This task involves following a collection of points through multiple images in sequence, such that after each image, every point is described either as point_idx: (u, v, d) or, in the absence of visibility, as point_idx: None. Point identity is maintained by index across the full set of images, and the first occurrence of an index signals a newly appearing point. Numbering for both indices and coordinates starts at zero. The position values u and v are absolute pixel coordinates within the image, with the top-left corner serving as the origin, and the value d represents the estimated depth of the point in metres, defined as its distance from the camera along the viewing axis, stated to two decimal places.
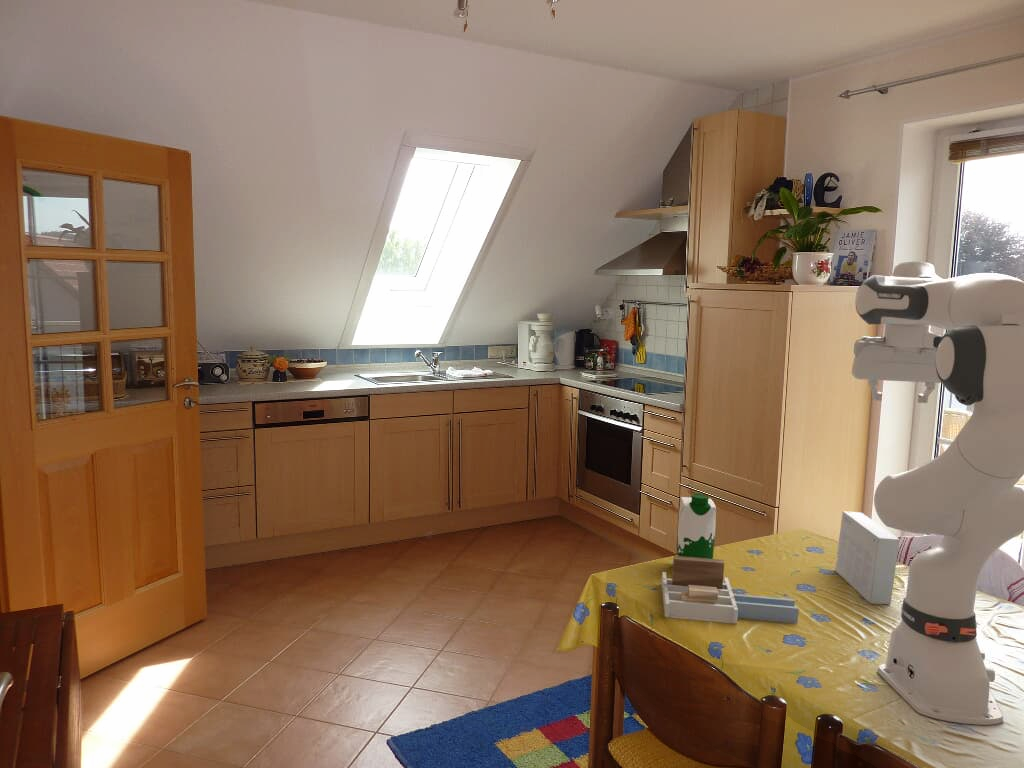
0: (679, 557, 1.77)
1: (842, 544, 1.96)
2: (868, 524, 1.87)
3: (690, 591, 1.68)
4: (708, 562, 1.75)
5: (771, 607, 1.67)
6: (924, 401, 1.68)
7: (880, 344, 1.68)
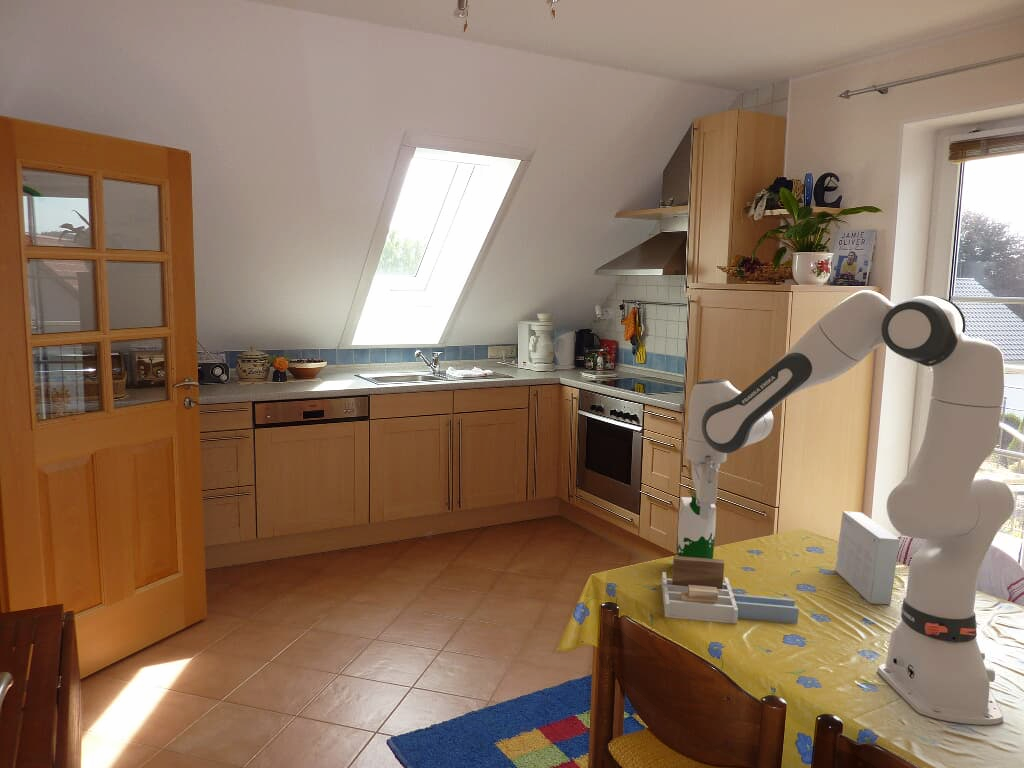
0: (679, 557, 1.77)
1: (842, 544, 1.96)
2: (868, 524, 1.87)
3: (690, 591, 1.68)
4: (708, 562, 1.75)
5: (771, 607, 1.67)
6: None
7: None
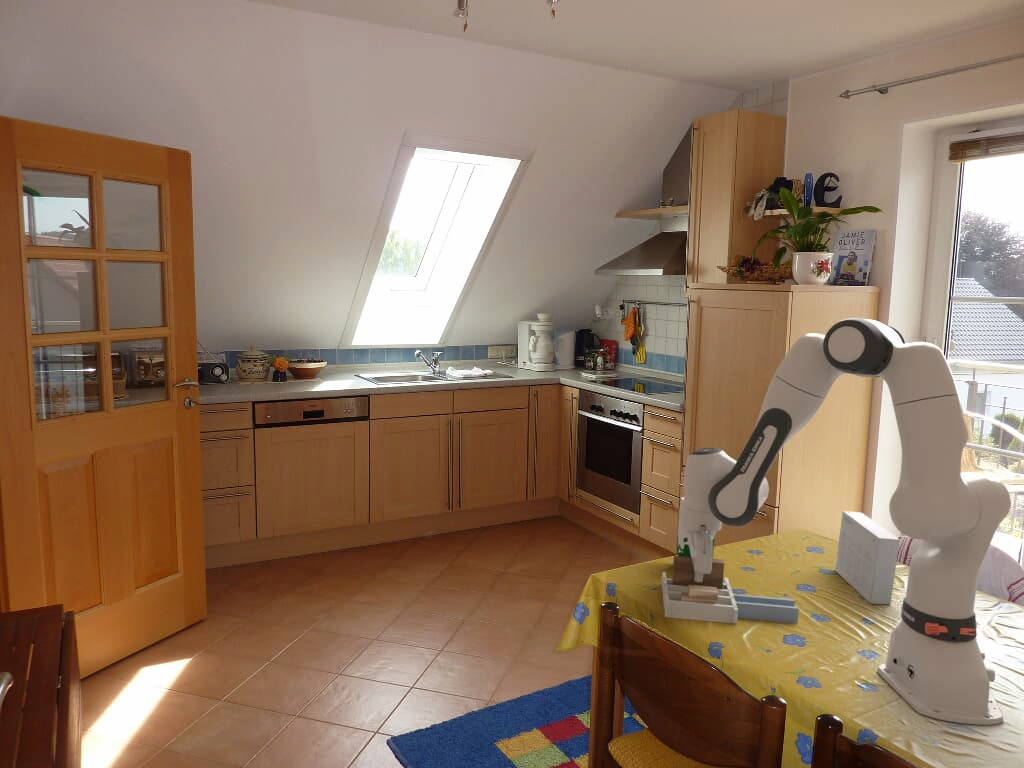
0: (679, 557, 1.77)
1: (842, 544, 1.96)
2: (868, 524, 1.87)
3: (690, 591, 1.68)
4: None
5: (771, 607, 1.67)
6: None
7: None
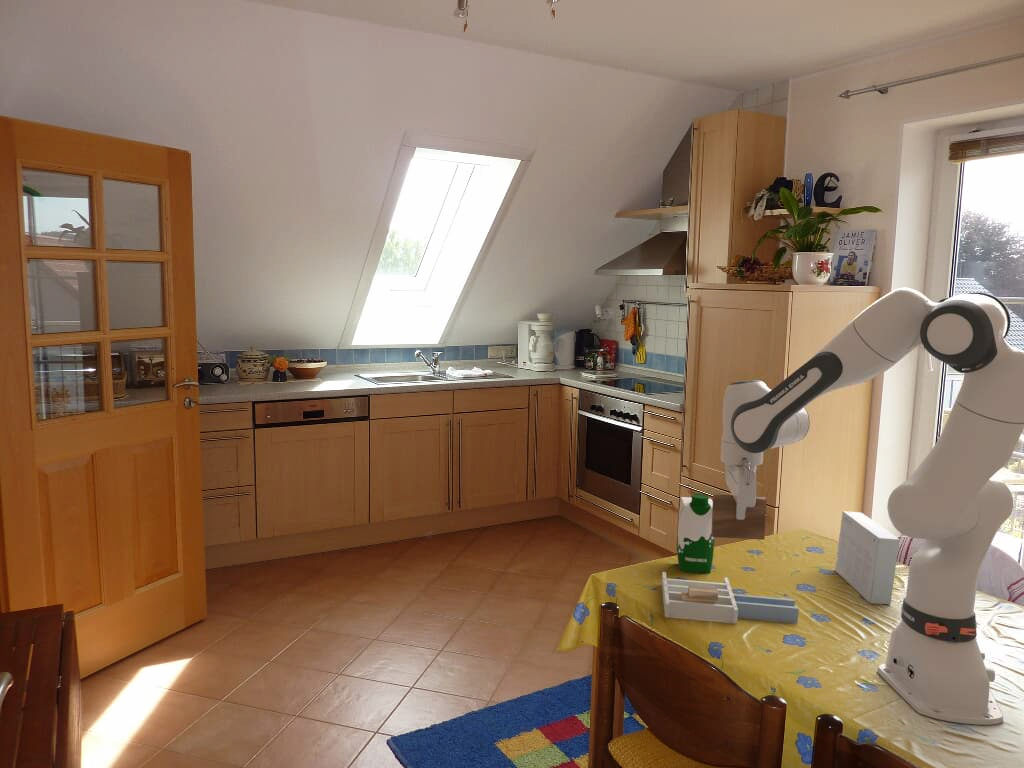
0: (719, 495, 1.71)
1: (842, 544, 1.96)
2: (868, 524, 1.87)
3: (690, 591, 1.68)
4: None
5: (771, 607, 1.67)
6: None
7: None
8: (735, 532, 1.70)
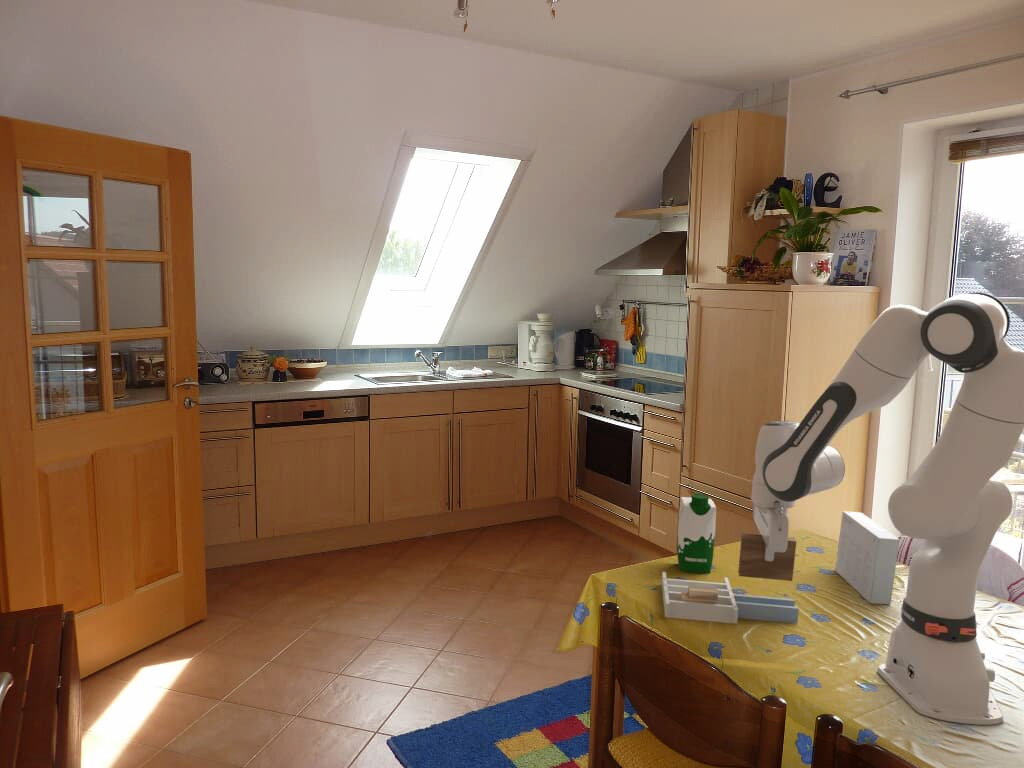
0: (748, 535, 1.68)
1: (842, 544, 1.96)
2: (868, 524, 1.87)
3: (690, 591, 1.68)
4: None
5: (771, 607, 1.67)
6: None
7: None
8: (763, 572, 1.68)
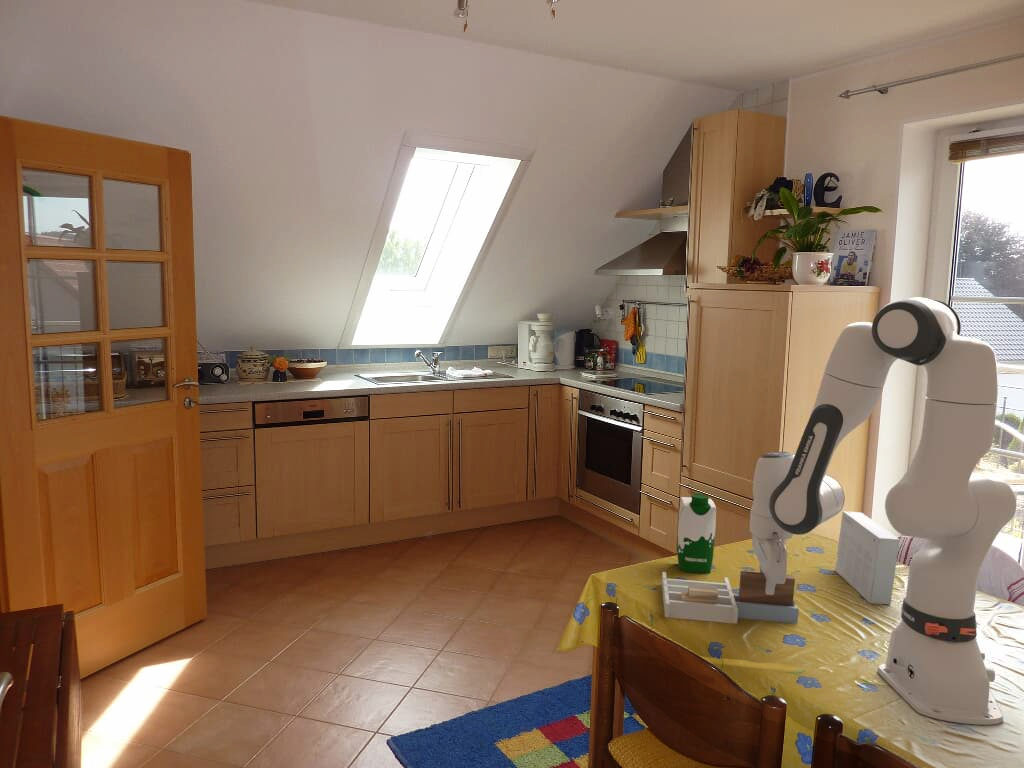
0: (747, 572, 1.69)
1: (842, 544, 1.96)
2: (868, 524, 1.87)
3: (690, 591, 1.68)
4: None
5: (771, 607, 1.67)
6: None
7: None
8: None
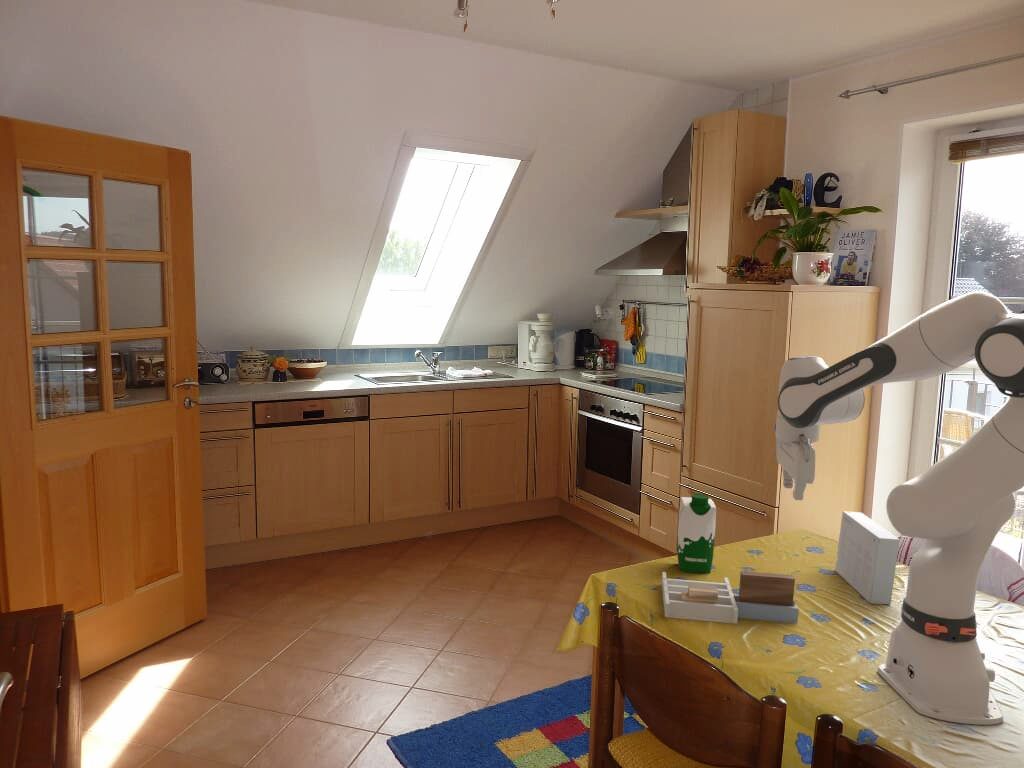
0: (747, 572, 1.69)
1: (842, 544, 1.96)
2: (868, 524, 1.87)
3: (690, 591, 1.68)
4: (778, 578, 1.67)
5: (771, 607, 1.67)
6: None
7: None
8: None
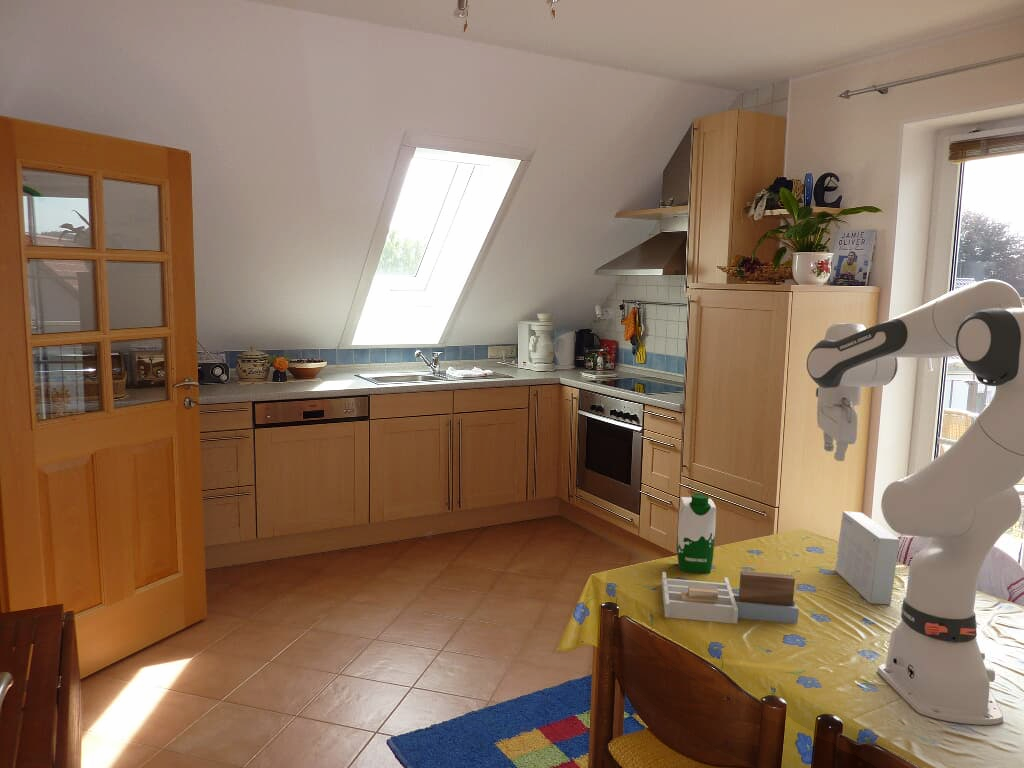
0: (747, 572, 1.69)
1: (842, 544, 1.96)
2: (868, 524, 1.87)
3: (690, 591, 1.68)
4: (778, 578, 1.67)
5: (771, 607, 1.67)
6: None
7: None
8: None
